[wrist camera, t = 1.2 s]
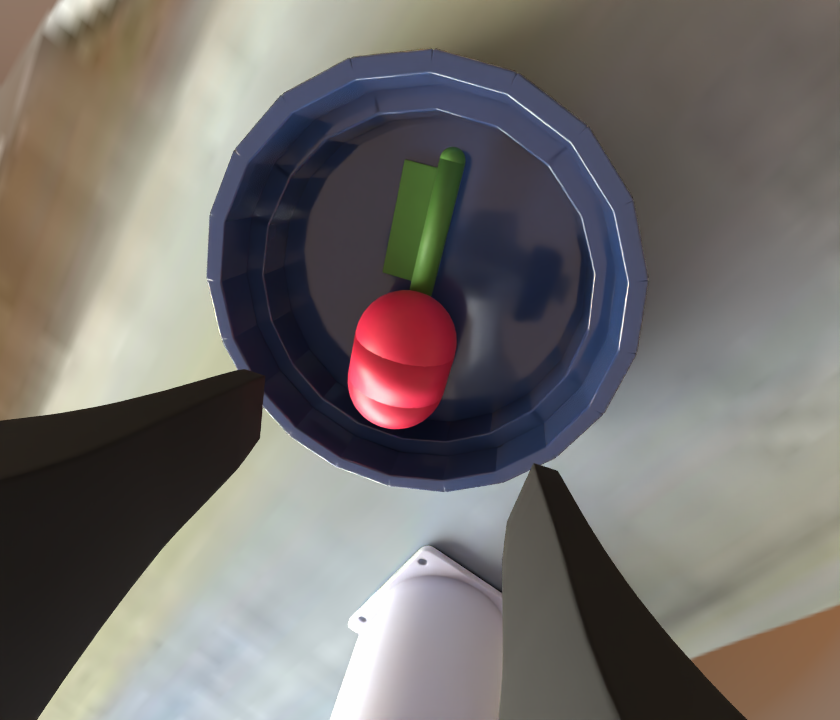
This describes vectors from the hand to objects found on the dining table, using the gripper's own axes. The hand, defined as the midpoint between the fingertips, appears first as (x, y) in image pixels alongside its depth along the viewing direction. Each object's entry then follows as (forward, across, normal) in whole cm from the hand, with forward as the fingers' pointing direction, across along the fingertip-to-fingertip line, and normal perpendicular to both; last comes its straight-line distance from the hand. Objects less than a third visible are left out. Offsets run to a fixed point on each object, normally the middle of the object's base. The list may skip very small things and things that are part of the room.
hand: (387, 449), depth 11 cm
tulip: (+9, +1, -2) cm, 9 cm away
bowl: (+9, +1, -2) cm, 9 cm away
